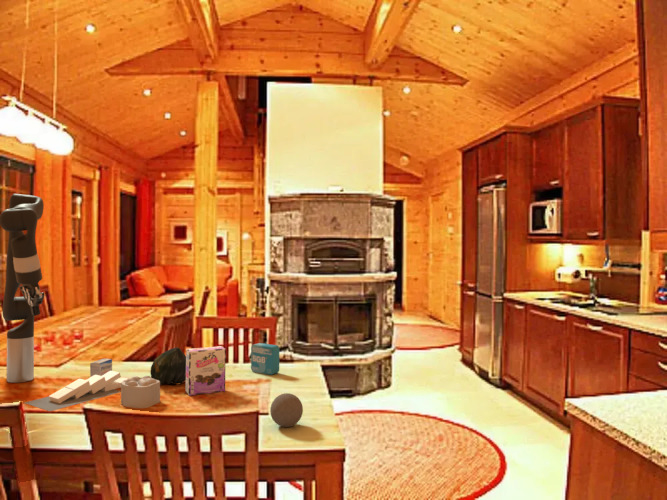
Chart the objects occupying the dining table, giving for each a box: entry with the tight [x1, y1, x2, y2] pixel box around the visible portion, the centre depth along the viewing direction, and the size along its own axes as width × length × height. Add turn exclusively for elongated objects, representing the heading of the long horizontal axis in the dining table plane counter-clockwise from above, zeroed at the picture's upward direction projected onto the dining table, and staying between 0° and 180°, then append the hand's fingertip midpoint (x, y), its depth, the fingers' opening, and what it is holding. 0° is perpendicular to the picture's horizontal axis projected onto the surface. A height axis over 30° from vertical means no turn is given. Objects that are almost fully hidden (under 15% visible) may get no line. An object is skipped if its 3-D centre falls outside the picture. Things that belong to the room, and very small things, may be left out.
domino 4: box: [101, 377, 128, 391], centre depth 201 cm, size 2×6×12 cm
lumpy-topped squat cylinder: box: [120, 375, 161, 409], centre depth 184 cm, size 10×13×9 cm
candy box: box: [184, 345, 227, 396], centre depth 198 cm, size 14×6×16 cm, turn 117°
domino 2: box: [71, 375, 106, 399], centre depth 191 cm, size 2×6×12 cm
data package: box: [250, 342, 280, 376], centre depth 227 cm, size 12×4×12 cm, turn 60°
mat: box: [24, 389, 121, 412], centre depth 188 cm, size 16×27×1 cm, turn 148°
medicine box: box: [89, 358, 113, 378], centre depth 209 cm, size 8×4×9 cm, turn 168°
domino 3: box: [88, 370, 122, 394], centre depth 197 cm, size 2×6×12 cm
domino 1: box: [48, 378, 90, 403], centre depth 186 cm, size 2×6×12 cm
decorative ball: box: [269, 392, 304, 428], centre depth 163 cm, size 10×10×10 cm
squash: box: [149, 347, 186, 386], centre depth 209 cm, size 14×15×15 cm
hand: (36, 314), depth 181 cm, fingers closed
